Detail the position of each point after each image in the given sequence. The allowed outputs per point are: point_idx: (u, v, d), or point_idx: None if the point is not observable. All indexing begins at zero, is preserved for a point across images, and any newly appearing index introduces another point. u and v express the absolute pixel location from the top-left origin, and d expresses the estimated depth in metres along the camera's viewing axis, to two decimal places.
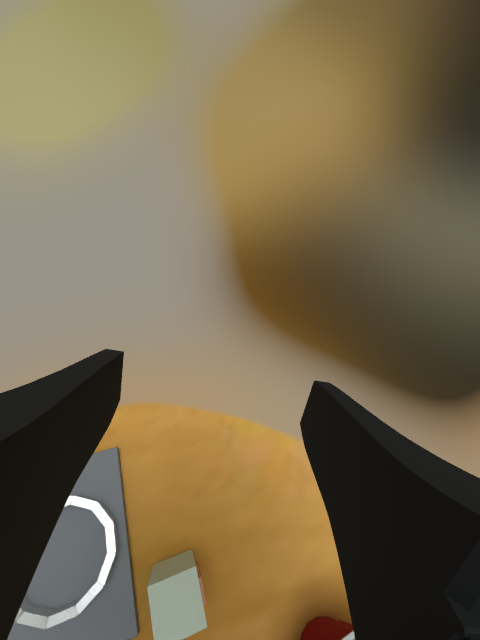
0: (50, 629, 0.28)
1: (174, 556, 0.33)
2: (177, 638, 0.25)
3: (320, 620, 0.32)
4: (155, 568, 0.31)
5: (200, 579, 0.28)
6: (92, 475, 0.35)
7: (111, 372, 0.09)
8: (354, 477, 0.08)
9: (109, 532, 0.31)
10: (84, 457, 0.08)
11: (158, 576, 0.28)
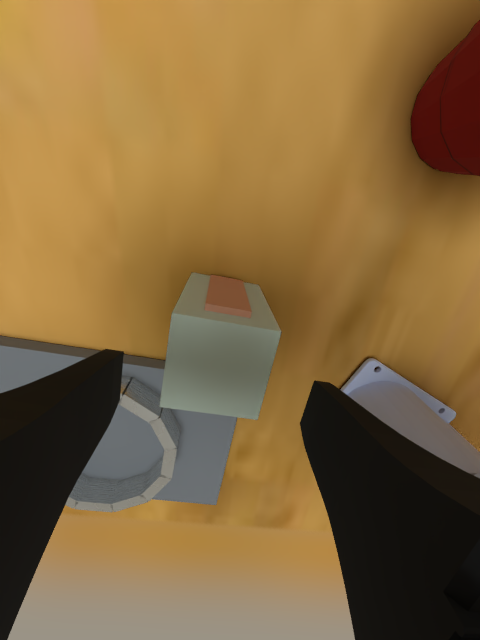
0: (183, 460, 0.23)
1: None
2: (262, 384, 0.13)
3: (431, 84, 0.14)
4: None
5: (207, 306, 0.12)
6: (6, 385, 0.19)
7: (111, 372, 0.09)
8: (354, 477, 0.08)
9: None
10: (84, 457, 0.08)
11: None
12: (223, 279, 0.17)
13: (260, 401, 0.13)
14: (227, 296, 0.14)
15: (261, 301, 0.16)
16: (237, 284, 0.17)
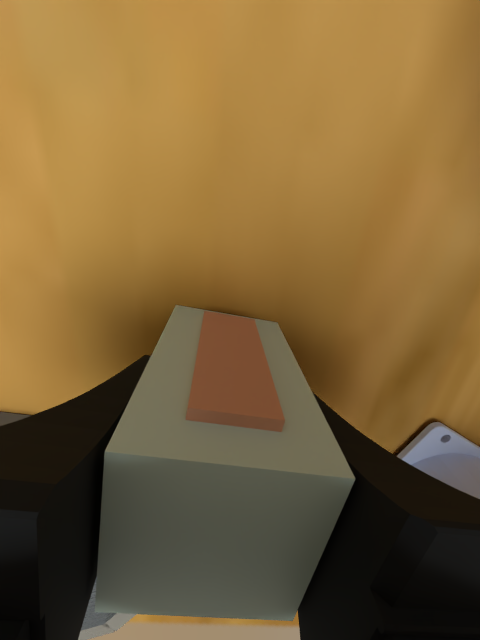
0: None
1: None
2: (305, 569, 0.06)
3: None
4: None
5: (192, 412, 0.06)
6: None
7: None
8: None
9: None
10: None
11: None
12: (224, 320, 0.11)
13: (300, 594, 0.06)
14: (232, 370, 0.07)
15: (290, 366, 0.09)
16: (247, 330, 0.10)
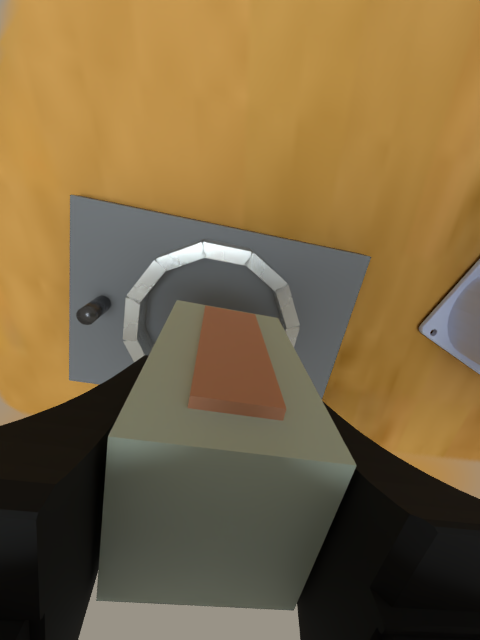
0: None
1: None
2: (307, 557, 0.06)
3: None
4: None
5: (194, 400, 0.06)
6: (111, 255, 0.18)
7: None
8: None
9: (216, 253, 0.16)
10: None
11: None
12: (225, 315, 0.11)
13: (301, 583, 0.06)
14: (234, 361, 0.08)
15: (291, 359, 0.09)
16: (248, 324, 0.10)
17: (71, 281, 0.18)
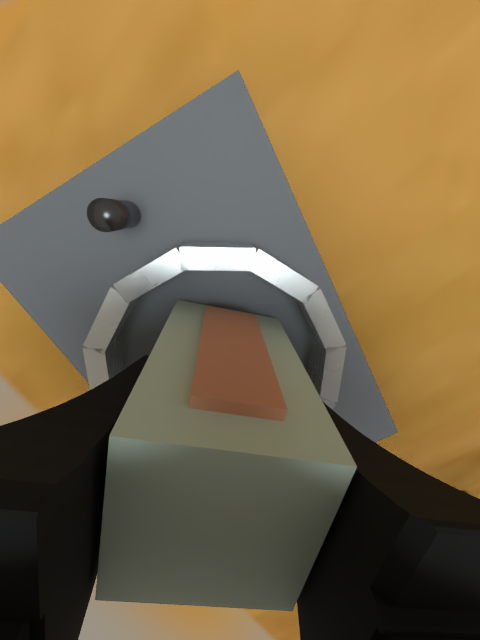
0: None
1: None
2: (306, 558, 0.06)
3: None
4: None
5: (196, 401, 0.06)
6: (200, 182, 0.11)
7: None
8: None
9: (318, 311, 0.11)
10: None
11: None
12: (226, 315, 0.11)
13: (300, 583, 0.06)
14: (235, 362, 0.08)
15: (291, 360, 0.09)
16: (248, 325, 0.10)
17: (120, 150, 0.11)
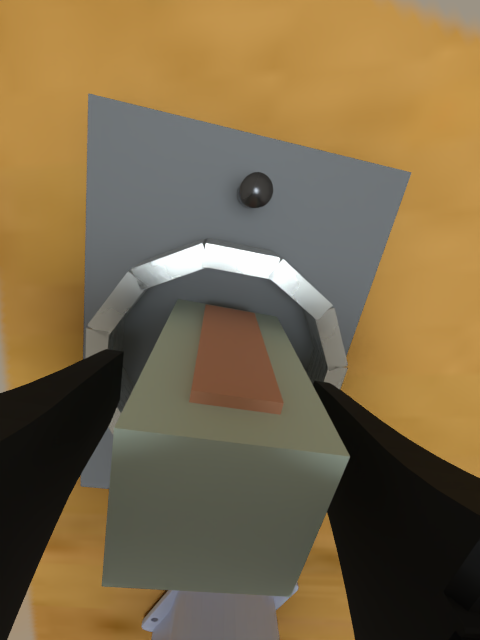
0: None
1: None
2: (303, 545, 0.06)
3: None
4: None
5: (196, 395, 0.06)
6: (321, 220, 0.12)
7: (111, 372, 0.09)
8: (354, 477, 0.08)
9: (332, 382, 0.12)
10: (84, 457, 0.08)
11: None
12: (225, 313, 0.11)
13: (298, 570, 0.07)
14: (233, 358, 0.08)
15: (289, 356, 0.09)
16: (247, 323, 0.11)
17: (288, 145, 0.11)
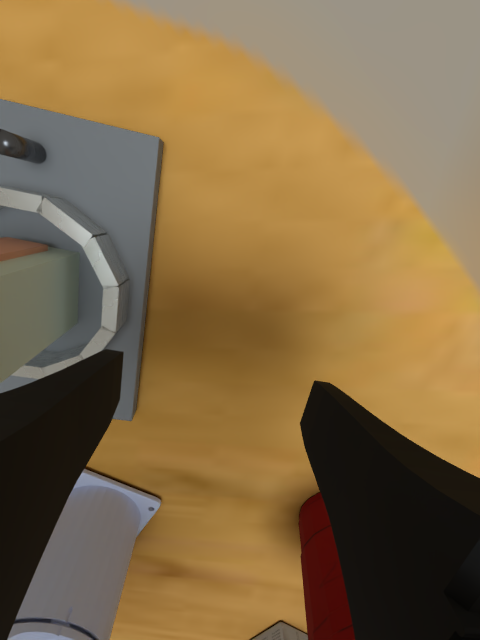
0: None
1: None
2: None
3: None
4: None
5: None
6: (97, 174, 0.16)
7: (111, 372, 0.09)
8: (354, 477, 0.08)
9: (109, 299, 0.16)
10: (84, 457, 0.08)
11: None
12: (13, 241, 0.15)
13: None
14: None
15: (32, 263, 0.13)
16: (24, 246, 0.14)
17: (57, 115, 0.15)
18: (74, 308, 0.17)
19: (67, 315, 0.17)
